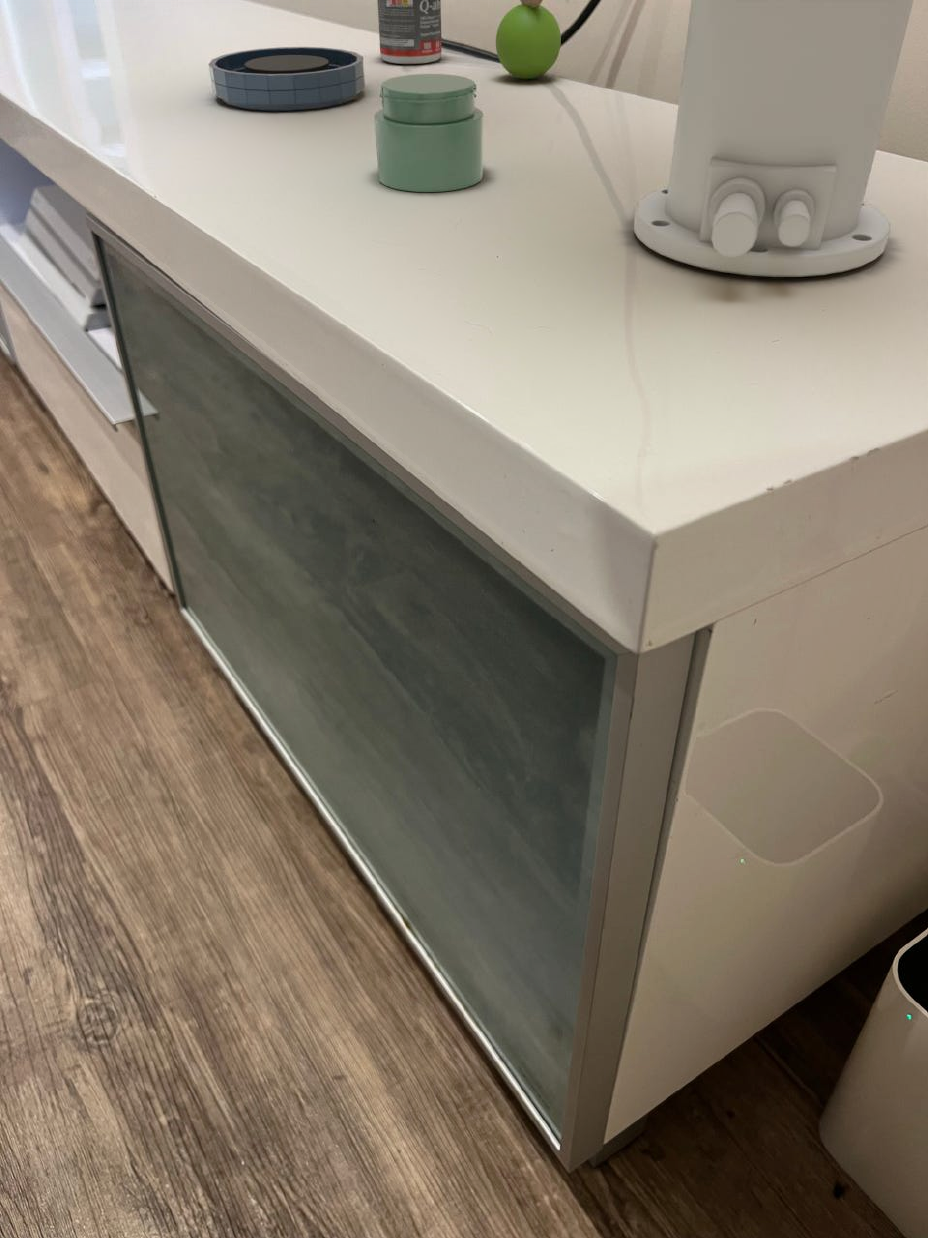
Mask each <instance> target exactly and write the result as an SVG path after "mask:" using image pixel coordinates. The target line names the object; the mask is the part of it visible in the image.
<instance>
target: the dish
mask: <svg viewBox="0 0 928 1238" xmlns="http://www.w3.org/2000/svg"><path fill="white" fill-rule="evenodd" d="M279 55H309V56H317V57H322V58H325V59H327V60H328V61H329V70H324V71H317V72H307V73H295V74H253V73H246V72H245V63H246V62H247V61H250V60H253V59H257V58H262V57H268V56H279ZM208 70H209V77H210V83H211V89H212V94H214V95H215V96H216V98H218V99H221V100H222V102H223V103H224V104H226V105H228V106H232V107H235V108H240V109H245V110H251V111H266V112H267V111H268V112H288V111H289V112H290V111H306V110H316V109H323V108H329V107H334V106H337V105H341V104H345V103H348V102H351V101H352V100H355V99H356V98H357V97H358V96H359V93H360V92H363V91H364V90H365V87H366V82H365V81H366V80H365V66H364V56H363V55H361V54H360V53H357V52H355V51H351V50H346V49H341V48H332V47H322V46H321V47H319V46H317V47H316V46H280V47H267V48H265V47H264V48H256V49H249V50H241V51H236V52H230V53H227V54H222V55H220V56H218V57H215V58H212V59H211V60H210V61H209V63H208Z"/></svg>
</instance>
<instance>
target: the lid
mask: <svg viewBox="0 0 928 1238" xmlns="http://www.w3.org/2000/svg"><path fill="white" fill-rule="evenodd" d="M324 70H329V61H328V60H327V59H325V58H322V57H317V56H309V55H279V56H268V57H262V58H257V59H253V60H250V61H247V62H246V63H245V72H246V73H253V74H295V73H307V72H317V71H324Z"/></svg>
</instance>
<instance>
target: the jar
mask: <svg viewBox="0 0 928 1238" xmlns="http://www.w3.org/2000/svg"><path fill="white" fill-rule="evenodd" d="M476 93H477V84H475V81H474V80H473V79H470V78H468V77H465V76H460V75H454V74H443V73H419V74H417V73H416V74H406V75H399V76H395V77H391V78H388V79H385V80H384V81H382V82H381V90H380V91H379V97H380V98H381V103H382V104H381V105H382V109H381V108H380V109H379V110H377V111H376V112H375V113H374V133H375V144H376V145H375V146H376V147H375V148H376V163H377V175H378V176H377V178H378V181H379V183H381V184H382V185H383V186H386V187H388V188H391V189H395V190H399V191H406V192H416V193H441V192H442V193H443V192H450V191H451V192H452V191H457V190H462V189H466V188H469V187H472V186H474V185H476V184H478V183H479V182H481V181H482V179H483V176H484V167H483V166H484V113H483V111H482V110H481V109H479V108H477V107H475V104H476V103H475V99H476V98H477V94H476Z"/></svg>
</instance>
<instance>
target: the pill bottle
mask: <svg viewBox="0 0 928 1238" xmlns="http://www.w3.org/2000/svg"><path fill="white" fill-rule="evenodd" d="M376 1H377V20H378V21H377V22H378V37H379V39H378V40H379V54H380V57H381V59H382V60H383V61H385V62H386V63H391V64H398V65H421V64H422V65H423V64H430V63H433V62H436V61H439V60H440V59H441V57H442V50H443V49H442V47H443V46H442V1H441V0H376Z"/></svg>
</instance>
